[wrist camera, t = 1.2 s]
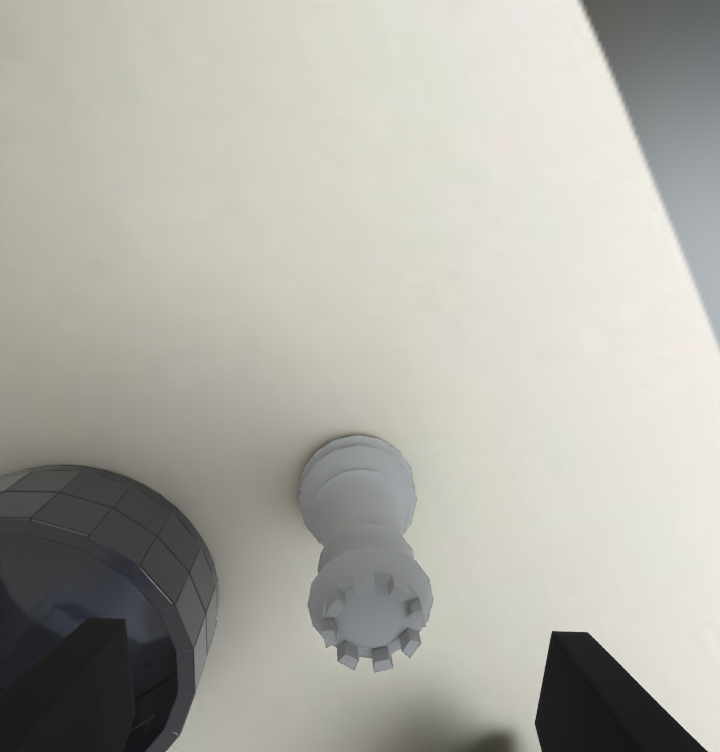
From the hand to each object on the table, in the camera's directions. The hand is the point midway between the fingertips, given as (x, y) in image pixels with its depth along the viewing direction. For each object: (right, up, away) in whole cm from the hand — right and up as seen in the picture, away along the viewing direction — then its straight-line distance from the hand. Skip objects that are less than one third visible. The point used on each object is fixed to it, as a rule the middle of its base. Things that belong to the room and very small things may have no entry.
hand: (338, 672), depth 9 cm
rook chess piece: (0, +1, +12) cm, 12 cm away
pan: (-11, -4, +12) cm, 17 cm away
